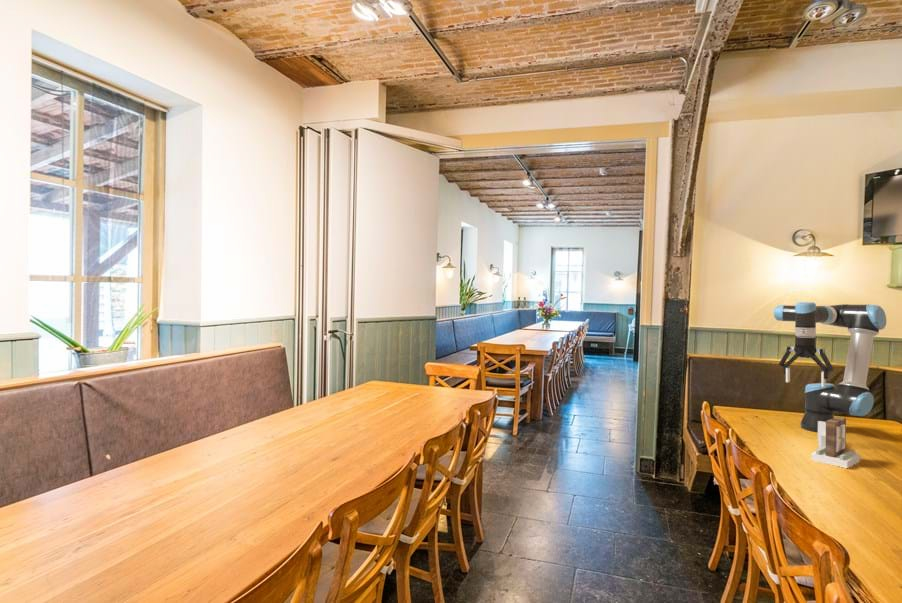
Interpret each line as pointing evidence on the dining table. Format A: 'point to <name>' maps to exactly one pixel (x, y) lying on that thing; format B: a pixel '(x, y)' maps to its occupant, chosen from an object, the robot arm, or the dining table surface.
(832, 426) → the brown picture frame
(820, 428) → the decorative sign
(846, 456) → the panel
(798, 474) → the dining table surface
